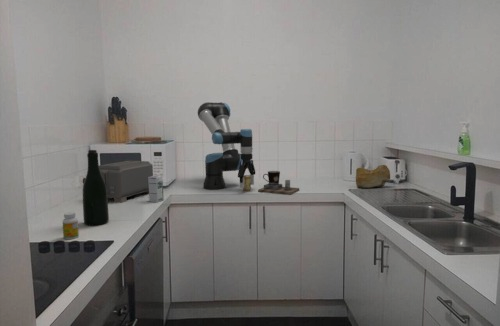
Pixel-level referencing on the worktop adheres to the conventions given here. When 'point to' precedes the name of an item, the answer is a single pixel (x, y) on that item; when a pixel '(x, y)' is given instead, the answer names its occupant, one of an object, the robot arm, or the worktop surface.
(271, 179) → the coffee mug
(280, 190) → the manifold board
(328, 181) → the worktop surface
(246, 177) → the gold tall rounded piece
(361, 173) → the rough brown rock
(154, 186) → the syrup box
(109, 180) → the toaster
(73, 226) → the supplement bottle
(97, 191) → the dark green wine bottle
